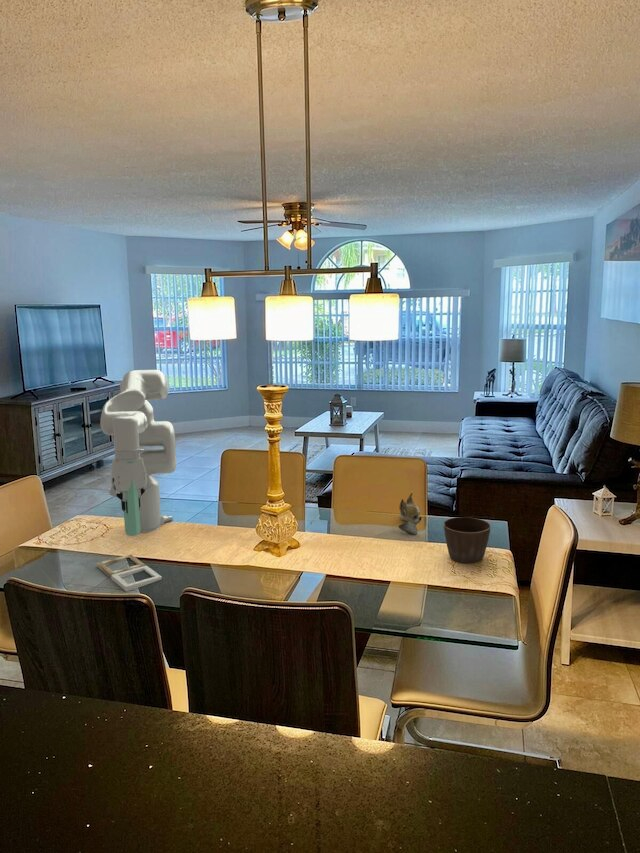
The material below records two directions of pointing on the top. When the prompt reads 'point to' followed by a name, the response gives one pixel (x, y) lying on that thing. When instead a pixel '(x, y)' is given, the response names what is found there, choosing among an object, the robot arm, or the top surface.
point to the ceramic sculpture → (409, 516)
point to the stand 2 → (134, 585)
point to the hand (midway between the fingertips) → (131, 510)
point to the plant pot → (466, 539)
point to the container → (132, 510)
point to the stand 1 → (108, 571)
